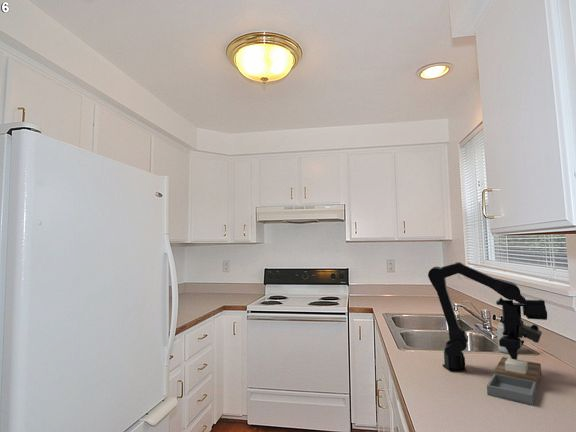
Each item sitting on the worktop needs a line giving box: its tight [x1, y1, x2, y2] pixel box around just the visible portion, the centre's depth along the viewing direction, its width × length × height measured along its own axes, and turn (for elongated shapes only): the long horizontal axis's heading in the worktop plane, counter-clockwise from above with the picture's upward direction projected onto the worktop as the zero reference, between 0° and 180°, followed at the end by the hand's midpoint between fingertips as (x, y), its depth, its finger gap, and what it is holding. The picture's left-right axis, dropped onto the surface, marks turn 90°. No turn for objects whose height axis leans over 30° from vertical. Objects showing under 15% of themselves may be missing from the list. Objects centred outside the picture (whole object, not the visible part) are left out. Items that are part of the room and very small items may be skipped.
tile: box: [505, 357, 529, 374], centre depth 124 cm, size 6×6×2 cm
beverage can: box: [496, 321, 509, 354], centre depth 153 cm, size 6×6×12 cm
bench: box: [493, 356, 542, 392], centre depth 126 cm, size 16×12×4 cm
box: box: [486, 373, 537, 406], centre depth 115 cm, size 12×12×3 cm
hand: (514, 361), depth 127 cm, fingers closed
